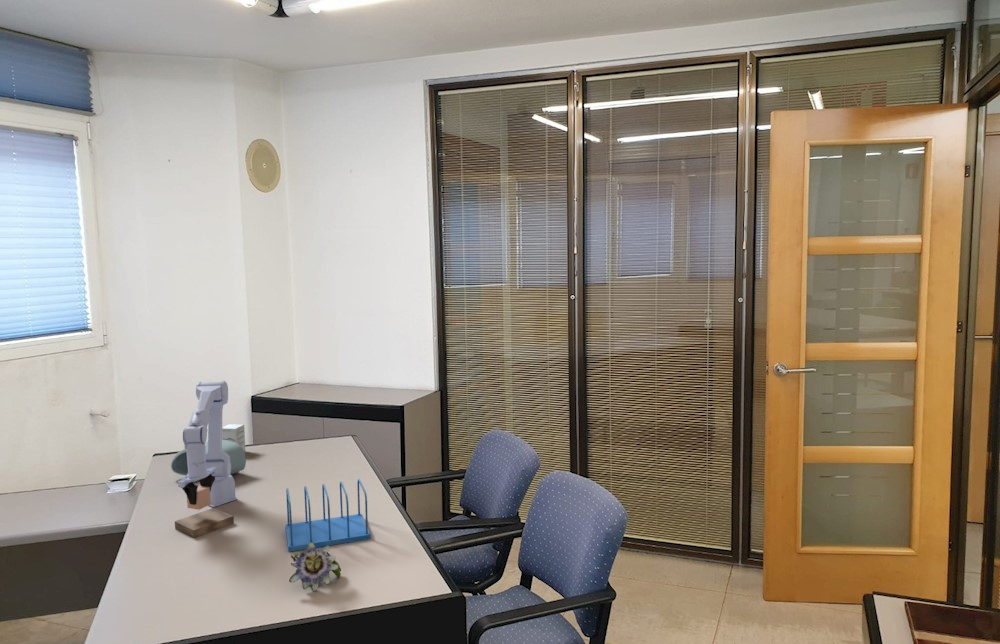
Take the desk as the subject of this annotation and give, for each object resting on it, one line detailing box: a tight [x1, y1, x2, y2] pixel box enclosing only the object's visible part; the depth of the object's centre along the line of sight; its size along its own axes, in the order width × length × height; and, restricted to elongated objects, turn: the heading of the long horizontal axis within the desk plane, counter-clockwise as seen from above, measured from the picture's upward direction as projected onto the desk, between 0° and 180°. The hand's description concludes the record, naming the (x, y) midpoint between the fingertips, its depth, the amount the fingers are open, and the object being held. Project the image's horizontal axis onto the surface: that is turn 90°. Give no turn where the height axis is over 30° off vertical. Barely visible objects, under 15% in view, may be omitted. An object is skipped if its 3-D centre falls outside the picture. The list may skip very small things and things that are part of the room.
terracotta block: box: [186, 485, 211, 511], centre depth 231 cm, size 5×5×6 cm
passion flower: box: [288, 542, 342, 593], centre depth 193 cm, size 13×12×14 cm
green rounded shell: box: [170, 439, 247, 476], centre depth 278 cm, size 22×19×13 cm
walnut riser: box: [174, 507, 235, 539], centre depth 232 cm, size 14×12×2 cm
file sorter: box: [284, 478, 372, 552], centre depth 223 cm, size 25×17×15 cm
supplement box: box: [222, 423, 246, 453], centre depth 307 cm, size 7×7×13 cm
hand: (199, 501), depth 231 cm, fingers closed on terracotta block, 5 cm apart
